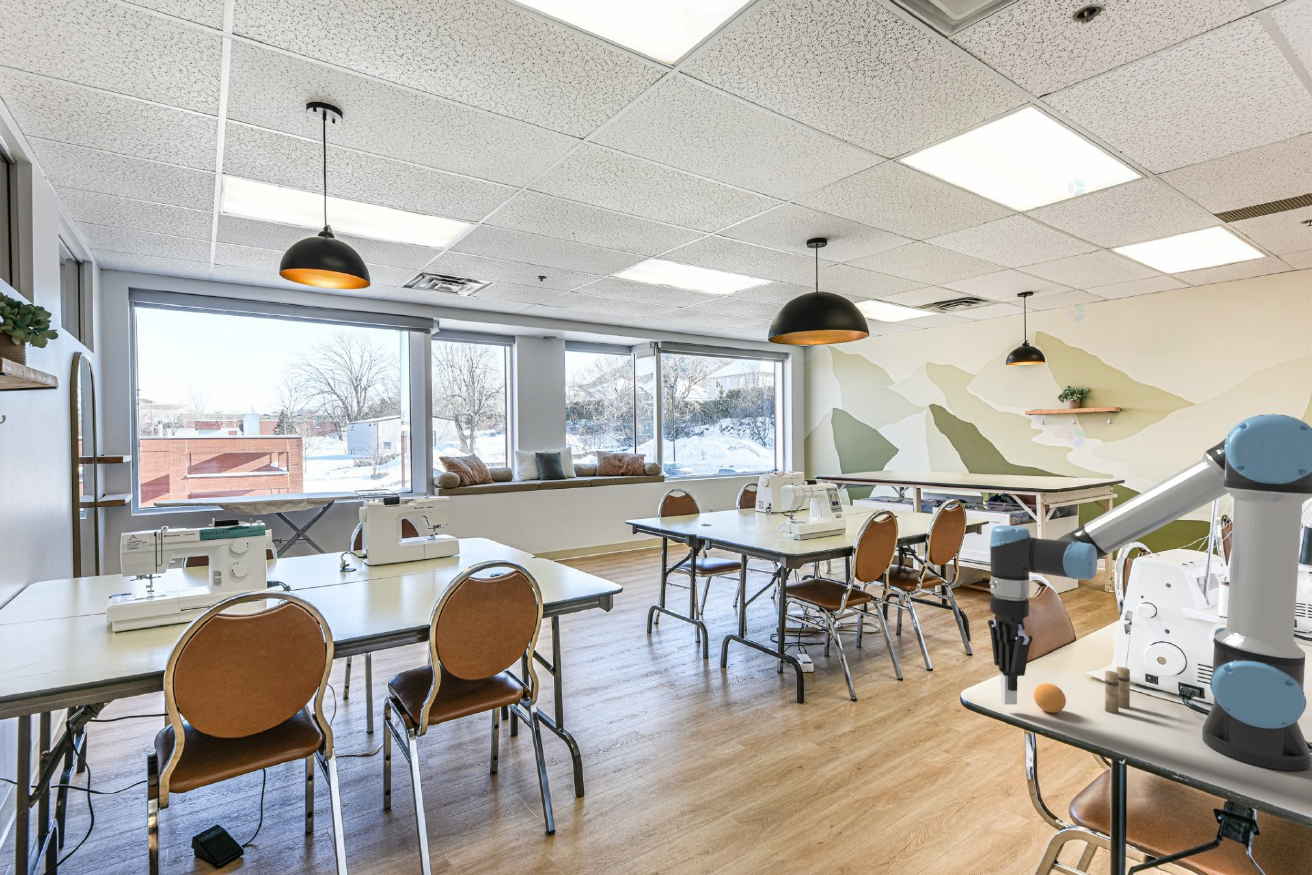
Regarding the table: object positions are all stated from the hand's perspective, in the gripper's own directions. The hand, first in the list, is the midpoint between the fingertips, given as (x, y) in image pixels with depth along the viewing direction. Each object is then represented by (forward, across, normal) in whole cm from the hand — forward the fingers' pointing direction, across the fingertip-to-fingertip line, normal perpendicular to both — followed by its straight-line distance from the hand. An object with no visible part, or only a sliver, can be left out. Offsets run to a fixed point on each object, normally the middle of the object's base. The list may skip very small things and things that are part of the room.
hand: (1008, 702), depth 138 cm
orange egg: (-1, 0, +9) cm, 9 cm away
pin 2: (+2, -2, +28) cm, 28 cm away
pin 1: (+2, 0, +23) cm, 23 cm away
